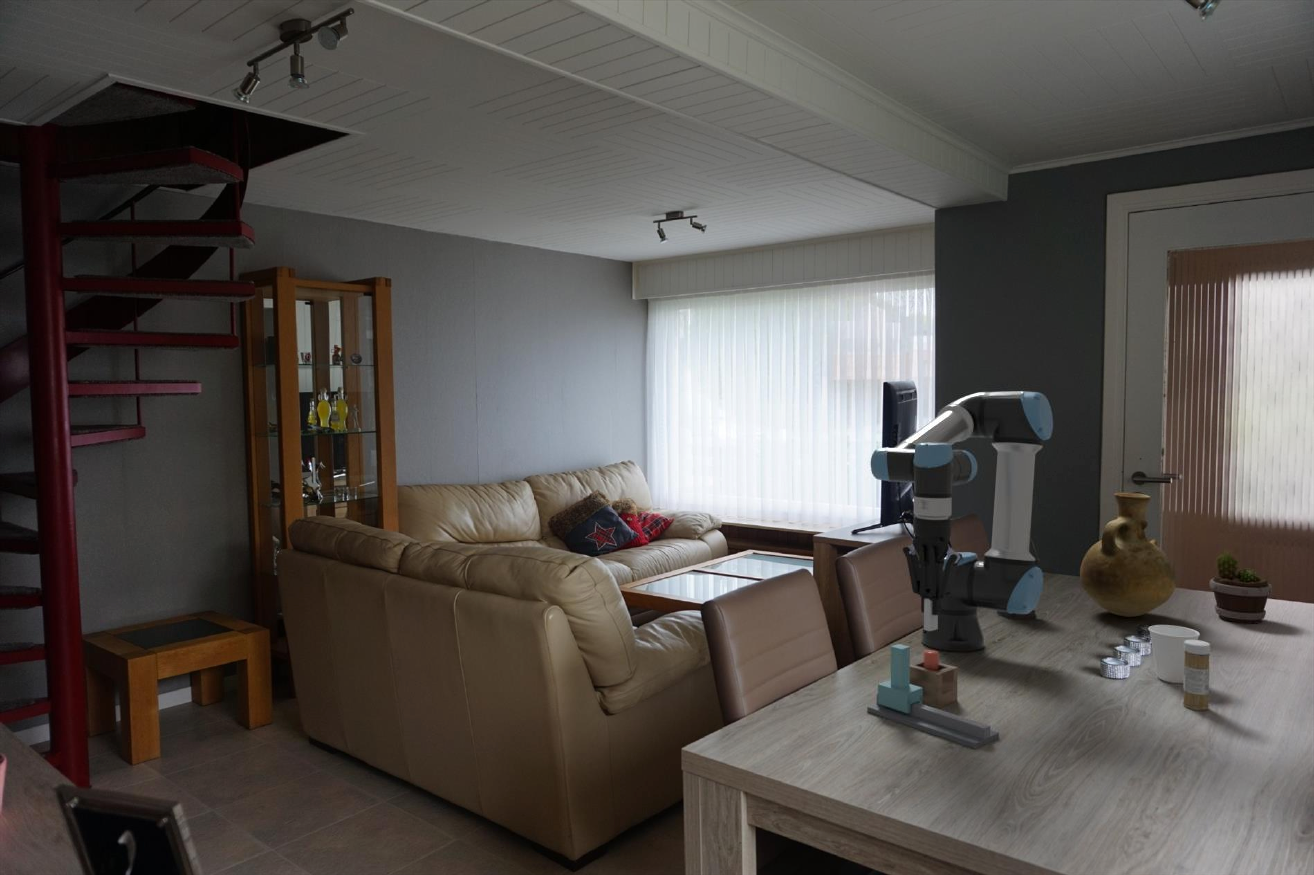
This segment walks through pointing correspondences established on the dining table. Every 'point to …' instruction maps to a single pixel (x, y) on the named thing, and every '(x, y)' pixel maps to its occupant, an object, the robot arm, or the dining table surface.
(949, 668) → the open wooden box
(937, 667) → the cylinder
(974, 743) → the rail bed
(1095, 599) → the vase
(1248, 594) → the flowerpot
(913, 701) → the carriage
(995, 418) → the robot arm
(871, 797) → the dining table surface
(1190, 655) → the sprinkles bottle
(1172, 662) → the cup
